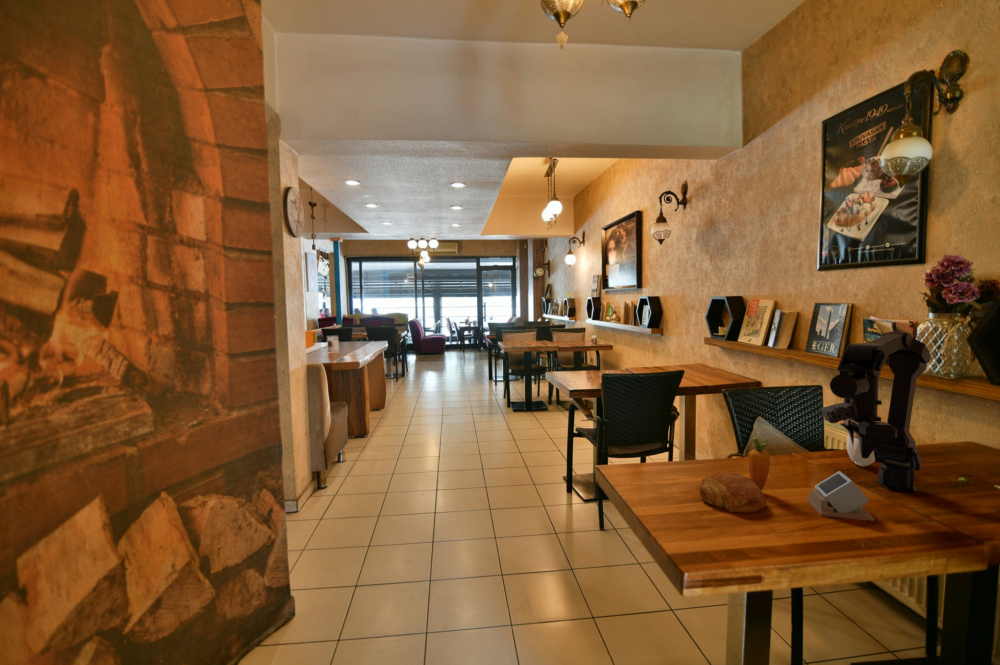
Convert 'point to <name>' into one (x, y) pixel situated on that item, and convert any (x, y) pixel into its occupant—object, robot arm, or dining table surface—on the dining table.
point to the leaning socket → (839, 498)
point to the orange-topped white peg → (858, 451)
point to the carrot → (759, 463)
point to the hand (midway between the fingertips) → (861, 456)
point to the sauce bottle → (850, 452)
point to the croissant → (732, 492)
